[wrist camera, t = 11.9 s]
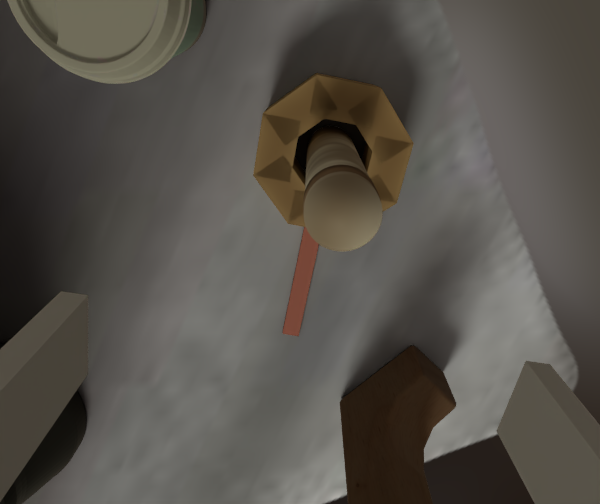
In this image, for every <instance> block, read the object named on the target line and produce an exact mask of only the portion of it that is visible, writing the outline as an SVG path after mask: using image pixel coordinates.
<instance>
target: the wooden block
mask: <svg viewBox="0 0 600 504" xmlns="http://www.w3.org/2000/svg"><path fill="white" fill-rule="evenodd" d="M455 406H456V402H455V399H454V397H453V394H452V392H451V390H450V387H449V385H448V383H447V380H446V378H445V375H444V373H443V372H442V371H441V370H440V369H439V368H438V367H437V366H436V365H435V364H434V363H433V362H431V361H430V360H429V359H428V358H427V357H426V356H425V355H424V354H423V353H422V352H421V351H420V350H419V349H418V348H417V347H415V346H410V347H409V348H407V349H406V350H405V351H403V352H402V353H401V354H400V355H398V356H397V357H396V358H394V359H393V360H392V361H391V362H389V363H388V364H387V365H385V366H384V367H383V368H381V369H380V370H379V371H378V372H376V373H375V374H374V375H372V376H371V377H370V378H368V379H367V380H366V381H365V382H363V383H362V384H361V385H359V386H358V387H357V388H356V389H354V390H353V391H352V392H350V393H349V394H348V395H346V396H345V397H344V398H343V399H342V400H341V401H340V410H341V422H342V435H343V447H344V459H345V472H346V484H347V496H348V504H433V503H432V499H431V495H430V492H429V488H428V485H427V481H426V477H425V473H424V447H425V445H426V443H427V440H428V438H429V436H430V433H431V431H432V429H433V427H434V426H435V425H436V424H438V423H439V422H440V421H441V420H442V419H443V418H444V417H445V416H446V415H447V414H449V413H450V412H451V411H452V410H453V409H454V408H455Z"/></svg>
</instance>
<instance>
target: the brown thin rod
mask: <svg viewBox="0 0 600 504" xmlns="http://www.w3.org/2000/svg"><path fill="white" fill-rule="evenodd" d="M318 246H319V244H318V243H317V242H316V241H315V240H314V239H313V238H312V237H311V236H310V234H309V233H308V231H307V229H306V227H304V231H303V236H302V240H301V245H300V250H299V255H298V260H297V265H296V270H295V274H294V279H293V284H292V289H291V294H290V299H289V303H288V308H287V313H286V318H285V323H284V328H283V334H288V335H294V336H299V331H300V327H301V322H302V318H303V314H304V309H305V305H306V300H307V296H308V291H309V287H310V282H311V278H312V273H313V269H314V264H315V260H316V255H317V251H318Z"/></svg>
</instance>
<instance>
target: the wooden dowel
mask: <svg viewBox="0 0 600 504" xmlns="http://www.w3.org/2000/svg"><path fill="white" fill-rule="evenodd" d="M382 213H383V212H382V204H381V201H380V197H379V194H378V191H377V189H376V187H375V185H374V183H373V182H372V180H371V179H370V177H369V175H368V173H367V171H366V169H365V167H364V165H363V163H362V161H361V159H360V157H359V155H358V152H357V150H356V148H355V146H354V144H353V142H352V140H351V138H350V136H349V135H348V133H347V132H346V131H344V130H343V129H341V128H339V127H337V126H324V127H322V128H320V129H318V130H316V131H315V132H314V133H313V134H312V136H311V137H310V139H309V142H308V146H307V162H306V180H305V193H304V198H303V215H304V222H305V226H306V229H307V231H308V233H309V234H310V236H311V237H312V238H313V239H314V240H315V241H316V242H317V243H318V244H320V245H321V246H323V247H325V248H327V249H330V250H334V251H350V250H354V249H357V248H359V247H361V246H363V245H365V244H366V243H368V242H369V241H370V240H371V239H372V238H373V237H374V236H375V234H376V233H377V231H378V229H379V227H380V225H381V221H382Z"/></svg>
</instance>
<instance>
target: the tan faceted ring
mask: <svg viewBox="0 0 600 504" xmlns="http://www.w3.org/2000/svg"><path fill="white" fill-rule="evenodd" d="M323 119H329V120H334V121H339V122H344V123H349V124H354V125H356V126H357V128H358V129H359V131H360V133H361V134H362V136H363V138H364V139H365V141H366V144H365V148H364V152H363V156H362V160H361V161H362V163H363V165H364V167H365V169H366V171H367V173H368V175H369V177H370V179H371V180H372V182H373V183H374V185H375V187H376V189H377V191H378V194H379V197H380V201H381V204H382V212H383V211H385V210H386V209H388V208H390V207H391V206H393V205H395V204H396V203H397V200H398V197H399V193H400V190H401V186H402V183H403V179H404V175H405V172H406V168H407V165H408V161H409V158H410V154H411V150H412V147H413V142H412V140H411V138H410V137H409V135H408V133H407V131H406V130H405V128H404V126H403V125H402V123H401V121H400V119H399V118H398V116H397V114H396V112H395V111H394V109H393V107H392V106H391V104H390V102H389V100H388V99H387V97H386V95H385V94H384V92H383V90H382V88H380V87H378V86H375V85H373V84H368V83H363V82H358V81H353V80H348V79H343V78H338V77H334V76H329V75H324V74H319V73H315V74H314V75H313V76H311V77H310V78H308V79H307V80H306V81H304V82H303V83H301V84H300V85H299V86H297V87H296V88H294V89H293V90H292V91H290V92H289V93H288V94H286V95H285V96H283V97H282V98H281V99H279V100H278V101H276V102H275V103H274V104H272V105H271V106H269V107H268V108H267V109H266V110H265V112H264V113H263V117H262V123H261V130H260V136H259V142H258V149H257V155H256V162H255V168H254V174H253V176H254V177H255V178H256V180H257V181H258V183H259V184H260V185H261V187H262V188H263V190H264V191H265V192H266V194H267V195H268V196H269V198H270V199H271V201H272V202H273V203H274V205H275V206H276V208H277V209H278V210H279V212H280V213H281V214H282V216H283V217H284V219H285V220H286V221H287V223H288V224H293V225H298V226H303V227H306V226H305V222H304V215H303V198H304V193H305V180H306V172H305V171H304V170H303V168H302V167H301V165H300V164H299V162H298V161H297V159H296V158H295V151H296V146H297V140H298V137H299V136H300V135H302V134H303V133H304V132H306V131H307V130H309V129H310V128H312V127H313V126H315V125H316V124H317V123H319V122H320V121H322V120H323Z"/></svg>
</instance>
